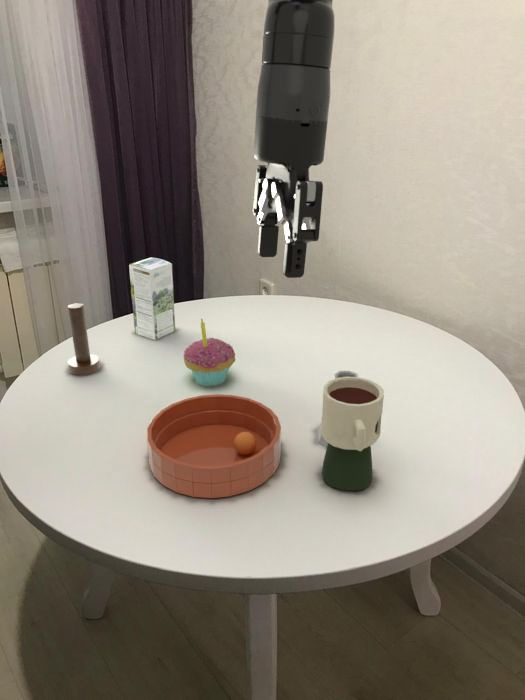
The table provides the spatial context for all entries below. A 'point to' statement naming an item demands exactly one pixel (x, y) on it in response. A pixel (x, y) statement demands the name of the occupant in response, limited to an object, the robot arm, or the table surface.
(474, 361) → the table surface
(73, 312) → the brown peg stand
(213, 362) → the cupcake
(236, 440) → the ball
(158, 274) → the syrup box
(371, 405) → the character mug
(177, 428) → the bowl
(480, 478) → the table surface
